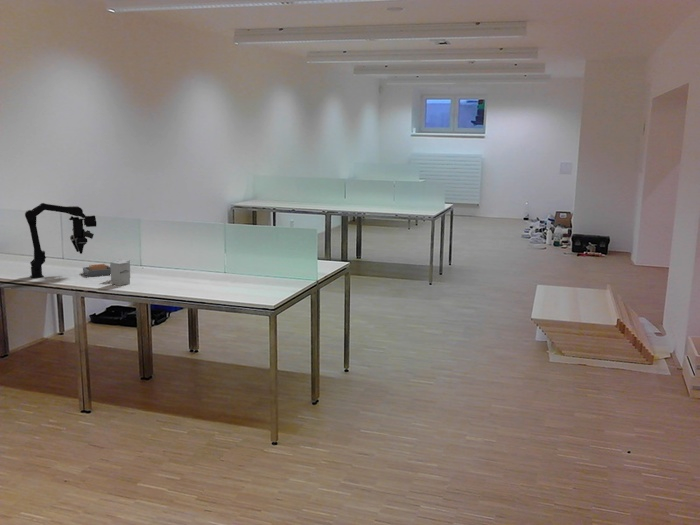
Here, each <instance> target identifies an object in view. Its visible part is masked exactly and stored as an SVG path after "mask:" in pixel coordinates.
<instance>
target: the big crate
mask: <svg viewBox="0 0 700 525" xmlns="http://www.w3.org/2000/svg"><path fill="white" fill-rule="evenodd" d="M106 265H107V264H106ZM82 273H83V274H84V275H85V276H87V277H90V278H91V277H100V276H101V277H103V276H110V275H109V274H111V268H110V266H109V265H107V269H104V270H93V271H89V266H86V267H85V266H84V267H82ZM102 275H103V276H102Z"/></svg>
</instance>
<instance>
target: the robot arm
mask: <svg viewBox="0 0 700 525" xmlns="http://www.w3.org/2000/svg"><path fill="white" fill-rule="evenodd" d="M44 211H48V212H49V211H50V212H55V213H56V212H59V213H64V214H68V215H71V216H70V217H69V218H68V220H69V221H72V234H71V235H70V236H69V238H70V241H71V243H72V245H73V247H74V249H75V251H76V252H77V253H79V254H80V255H83V252H84V246H85V245H86V244H87V243H88V238H89V239H91V240H93V238H94V235H95V234H94V232H93V233H92V232H91V231H90V230H85V228H84V226H85V227H86V228H94V227H97V220H96V215H86V214H84V213H83V212H84V210H83V209H82V207H80V206H78V205H76V206H71V205H70V206H63V205H56V204H50V203H44V202H41V203H40V204H38V205H36V206H35V207H34V208H33V209H28V210H26V211H25V212H24V217H25V219H26V222H27V225H28V226H29V230H30V231H29V232H30V236H31V240H32V241H31V242H32V246H33V259H32V260H31V261H30V263H29V264H30V274H31V275H29V277H30V278H31V279H35V278H36V279H37V278H44V275H43V268H42V267H43V266H42V265H43V264H44V263H46V259H47V257H46V251H45V250H42V248H41V242H40V237H39V232H38V228H37V216H39V215H40V214H41V213H43V212H44Z"/></svg>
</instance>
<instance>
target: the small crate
mask: <svg viewBox="0 0 700 525" xmlns="http://www.w3.org/2000/svg"><path fill="white" fill-rule="evenodd" d="M88 267H89V271H93V270H104V269H107V264H106V263H100V264H89V265H88Z"/></svg>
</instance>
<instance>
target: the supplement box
mask: <svg viewBox="0 0 700 525" xmlns="http://www.w3.org/2000/svg"><path fill="white" fill-rule="evenodd" d="M111 262H112V263H110V262H109V264H111V275H110V282H111V285H113V284H115V285H114V286H118V285H120V286H123V285H130V284H131V269H130V270H129V262H125V261H118V262H114V261H111Z"/></svg>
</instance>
